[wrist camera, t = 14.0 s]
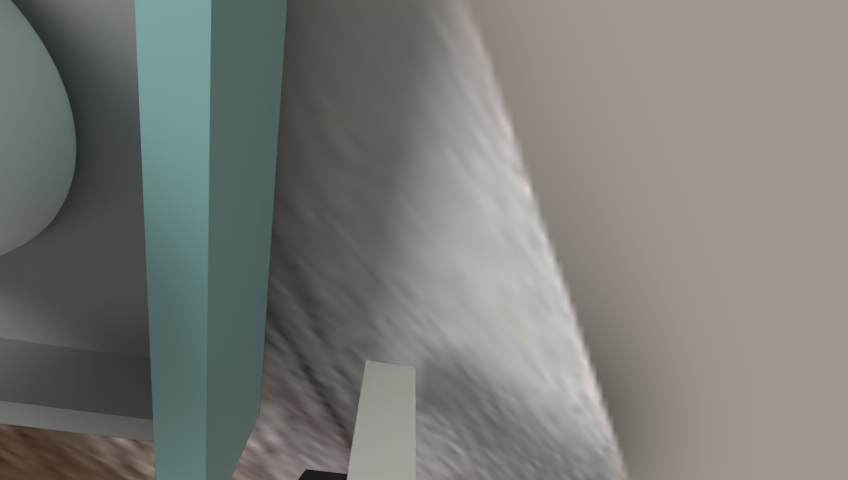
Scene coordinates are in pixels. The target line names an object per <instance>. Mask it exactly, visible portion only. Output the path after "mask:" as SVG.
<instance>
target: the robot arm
mask: <svg viewBox="0 0 848 480" xmlns="http://www.w3.org/2000/svg"><path fill="white" fill-rule="evenodd" d="M298 480H416V384H415V367H411V366H403V365H396V364H389V363H382V362H375V361H368V360H366V363H365V369H364V375H363V381H362V387H361V393H360V398H359V404H358V410H357V416H356V422H355V428H354V435H353V441H352V447H351V453H350V460H349V466H348V472H347V474H341V473H332V472H324V471H315V470H307V469H306V470H305V472H304V473H303V474H302V475H301V477H300V478H299V479H298Z"/></svg>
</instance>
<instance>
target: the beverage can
mask: <svg viewBox="0 0 848 480" xmlns="http://www.w3.org/2000/svg"><path fill="white" fill-rule="evenodd" d="M75 162H76V134H75V126H74V120H73V114H72V110H71V106H70V103H69V99H68V96H67V93H66V90H65V87H64V85H63V82H62V79H61V77H60V75H59V72H58V70H57V68H56V66H55V64H54V62H53V60H52V58H51V56H50V54H49V53H48V51H47V49H46V47H45V46H44V44H43V42H42V41H41V39H40V38H39V36H38V35H37V33H36V32H35V30H34V29H33V27H32V26H31V24H30V23H29V22H28V20H27V19H26V18H25V16H24V15H23V14H22V13H21V11H20V10H19V9H18V8H17V7H16V5H15V4H14V3H13V2H12V1H11V0H0V256H1V255H3V254H5V253H7V252H9V251H12V250H14V249H15V248H17V247H19V246H21V245H23V244H25V243H27V242H28V241H30V240H31V239H33V238H34V237H36V236H37V235H38V234H39V233H41V232H42V231H43V230H44V229H45V228H46V227H47V226H48V225H49V224H50V222H51V221H52V220H53V219H54V218H55V216H56V215H57V213H58V212H59V210H60V209H61V207H62V205H63V203H64V201H65V199H66V197H67V195H68V192H69V190H70V186H71V183H72V179H73V175H74V170H75Z"/></svg>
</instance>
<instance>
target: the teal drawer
mask: <svg viewBox="0 0 848 480" xmlns="http://www.w3.org/2000/svg"><path fill="white" fill-rule="evenodd" d="M11 1H12V2H13V3H14V4H15V5H16V7H17V8H18V9H19V10H20V11H21V13H22V14H23V15H24V16H25V18H26V19H27V20H28V22H29V23H30V24H31V26H32V27H33V29H34V30H35V32H36V33H37V35H38V36H39V38H40V39H41V41H42V42H43V44H44V46H45V47H46V49H47V51H48V53H49V54H50V56H51V58H52V60H53V62H54V64H55V66H56V68H57V70H58V72H59V75H60V77H61V79H62V82H63V85H64V87H65V90H66V93H67V96H68V99H69V103H70V106H71V110H72V114H73V120H74V126H75V134H76V162H75V170H74V175H73V179H72V183H71V186H70V190H69V192H68V195H67V197H66V199H65V201H64V203H63V205H62V207H61V209H60V210H59V212H58V213H57V215H56V216H55V218H54V219H53V220H52V221H51V222H50V224H49V225H48V226H47V227H46V228H45V229H44V230H43V231H42V232H41V233H39V234H38V235H37V236H36V237H34V238H33V239H31V240H30V241H28V242H27V243H25V244H23V245H21V246H19V247H17V248H15V249H14V250H12V251H9V252H7V253H5V254H3V255H1V256H0V423H1V424H9V425H17V426H26V427H34V428H42V429H50V430H58V431H67V432H75V433H83V434H91V435H100V436H108V437H116V438H124V439H132V440H141V441H149V442H154V452H155V474H156V480H230V479H231V477H232V475H233V472H234V470H235V468H236V465H237V463H238V461H239V458H240V456H241V454H242V452H243V449H244V447H245V445H246V442H247V440H248V438H249V435H250V433H251V431H252V429H253V426H254V424H255V422H256V419H257V417H258V415H259V412H260V399H261V384H262V369H263V354H264V339H265V324H266V310H267V295H268V280H269V265H270V250H271V235H272V220H273V206H274V191H275V176H276V161H277V146H278V131H279V116H280V102H281V87H282V72H283V57H284V42H285V27H286V12H287V0H11Z"/></svg>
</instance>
